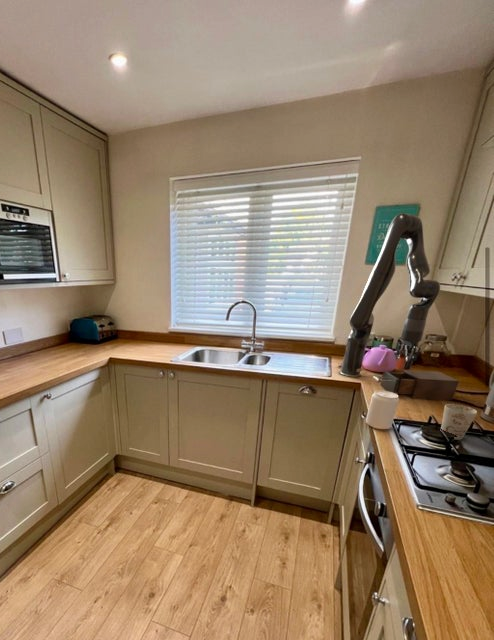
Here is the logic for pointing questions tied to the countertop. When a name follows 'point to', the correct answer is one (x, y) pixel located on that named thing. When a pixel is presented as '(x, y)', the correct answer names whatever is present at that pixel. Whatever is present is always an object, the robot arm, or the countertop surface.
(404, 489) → the countertop surface
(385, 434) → the countertop surface
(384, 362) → the teapot
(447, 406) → the mug
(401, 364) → the ramekin
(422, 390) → the cabinet
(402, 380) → the drawer
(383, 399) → the white canister
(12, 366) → the countertop surface
